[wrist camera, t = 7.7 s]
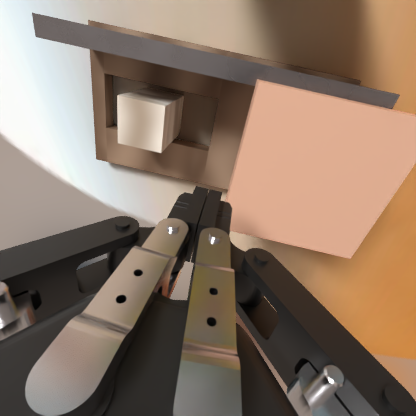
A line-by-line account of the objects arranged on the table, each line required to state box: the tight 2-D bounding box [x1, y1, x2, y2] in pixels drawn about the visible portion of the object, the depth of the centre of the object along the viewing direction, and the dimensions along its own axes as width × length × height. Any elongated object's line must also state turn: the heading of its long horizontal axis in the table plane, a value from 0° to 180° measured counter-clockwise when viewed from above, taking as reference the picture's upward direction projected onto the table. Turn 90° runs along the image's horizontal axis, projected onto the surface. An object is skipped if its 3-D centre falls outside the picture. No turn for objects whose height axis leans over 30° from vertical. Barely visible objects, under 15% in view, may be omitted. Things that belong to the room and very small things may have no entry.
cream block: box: [117, 88, 184, 153], centre depth 27 cm, size 4×4×8 cm
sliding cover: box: [225, 79, 416, 259], centre depth 20 cm, size 12×12×3 cm
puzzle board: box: [32, 13, 400, 190], centre depth 26 cm, size 28×15×10 cm, turn 79°
